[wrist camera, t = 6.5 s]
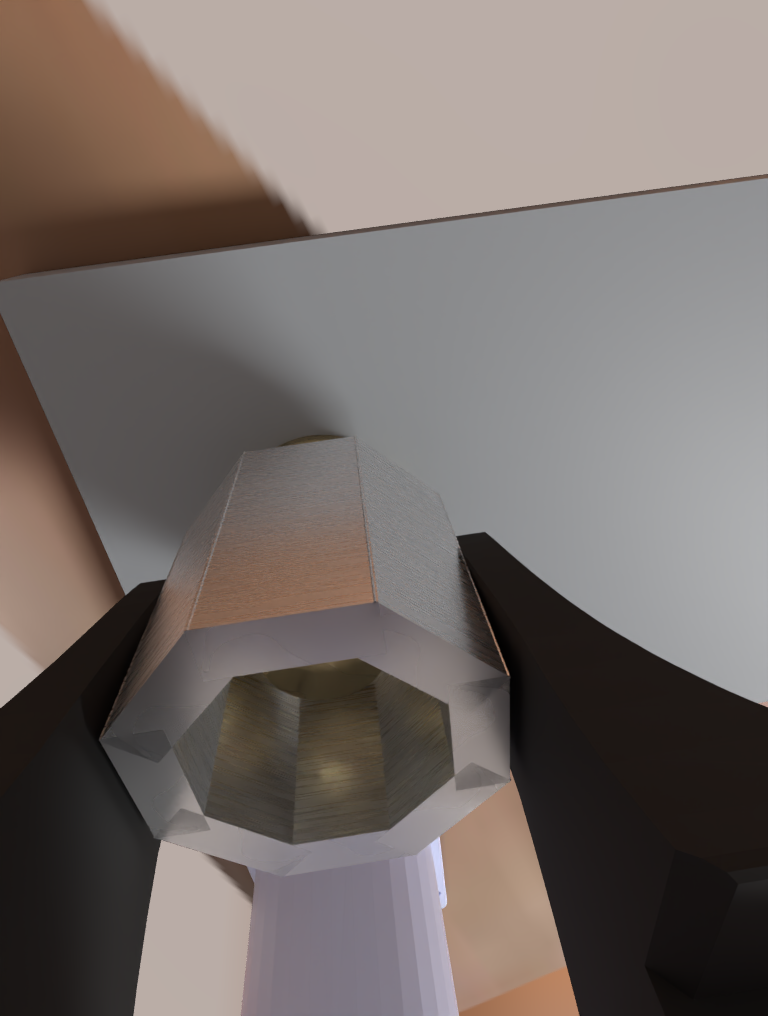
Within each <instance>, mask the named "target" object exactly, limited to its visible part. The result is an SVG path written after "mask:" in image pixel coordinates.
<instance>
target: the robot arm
mask: <svg viewBox="0 0 768 1016" xmlns="http://www.w3.org/2000/svg"><path fill="white" fill-rule="evenodd" d="M456 537H457V540H458V544H459V546H460V549H461V551H462V554H463V557H464V559H465V562H466V564H467V566H468V568H469V571H470V573H471V576H472V579H473V581H474V584H475V586H476V589H477V592H478V594H479V597H480V599H481V602H482V604H483V607H484V610H485V612H486V615H487V617H488V620H489V622H490V625H491V628H492V630H493V633H494V635H495V638H496V640H497V643H498V646H499V648H500V651H501V653H502V656H503V658H504V661H505V664H506V666H507V669H508V671H509V674H510V677H511V678H510V769H511V771H512V774H513V777H514V780H515V783H516V786H517V789H518V792H519V795H520V798H521V801H522V805H523V808H524V812H525V815H526V819H527V822H528V826H529V829H530V833H531V836H532V840H533V843H534V847H535V850H536V854H537V858H538V861H539V865H540V868H541V872H542V876H543V879H544V883H545V887H546V890H547V894H548V898H549V901H550V905H551V908H552V912H553V916H554V919H555V923H556V927H557V931H558V935H559V938H560V942H561V946H562V950H563V954H564V957H565V961H566V965H567V969H568V973H569V976H570V980H571V984H572V987H573V991H574V995H575V999H576V1003H577V1007H578V1011H579V1015H580V1016H768V707H765V706H763V705H760V704H758V703H755V702H753V701H751V700H748V699H746V698H744V697H742V696H739V695H737V694H735V693H732V692H730V691H728V690H726V689H723V688H721V687H719V686H717V685H715V684H713V683H711V682H709V681H707V680H704V679H702V678H700V677H698V676H696V675H694V674H692V673H690V672H688V671H686V670H684V669H682V668H680V667H678V666H676V665H674V664H672V663H670V662H668V661H666V660H664V659H662V658H660V657H659V656H657V655H655V654H653V653H651V652H649V651H648V650H646V649H644V648H642V647H641V646H639V645H637V644H636V643H634V642H632V641H630V640H629V639H627V638H625V637H623V636H622V635H620V634H618V633H617V632H615V631H613V630H612V629H610V628H609V627H607V626H605V625H604V624H602V623H601V622H599V621H598V620H596V619H595V618H593V617H592V616H590V615H589V614H587V613H586V612H584V611H583V610H581V609H580V608H579V607H577V606H576V605H574V604H573V603H571V602H570V601H569V600H567V599H566V598H565V597H563V596H562V595H561V594H559V593H558V592H557V591H555V590H554V589H553V588H552V587H550V586H549V585H548V584H547V583H545V582H544V581H543V580H541V579H540V578H539V577H538V576H536V575H535V574H534V573H533V572H531V571H530V570H529V569H528V568H527V567H525V566H524V565H523V564H522V563H521V562H520V561H518V560H517V559H516V558H515V557H514V556H513V555H511V554H510V553H509V552H508V551H507V550H506V549H505V548H503V547H502V546H501V545H500V544H499V543H498V542H497V541H496V540H494V539H493V538H492V537H491V536H490V535H488V534H487V533H486V532H480V533H473V534H467V535H460V536H456ZM165 581H166V579H164V580H158V581H151V582H144V583H140V584H138V585H137V586H136V587H135V588H134V589H132V590H131V591H130V592H129V593H128V594H127V595H125V596H124V597H123V598H122V599H121V600H120V601H119V602H118V603H117V604H116V605H115V606H113V607H112V608H111V609H110V610H109V611H108V612H107V613H106V614H105V615H104V616H103V617H102V618H101V619H100V620H99V621H98V622H96V623H95V624H94V625H93V626H92V627H91V628H90V629H89V630H88V631H87V632H86V633H85V634H84V635H83V636H82V637H80V638H79V639H78V640H77V641H76V642H75V643H74V644H73V645H72V646H71V647H70V648H69V649H68V650H67V651H65V652H64V653H63V654H62V655H61V656H60V657H59V658H58V659H57V660H56V661H55V662H54V663H52V664H51V665H50V666H49V667H48V668H47V669H45V670H44V671H43V672H42V673H41V674H40V675H39V676H38V677H36V678H35V679H34V680H33V681H32V682H31V683H29V684H28V685H27V686H26V687H25V688H24V689H22V690H21V691H20V692H19V693H18V694H17V695H16V696H14V697H13V698H12V699H11V700H10V701H9V702H8V703H6V704H5V705H4V706H3V707H2V708H0V1016H133V1013H134V1006H135V998H136V989H137V982H138V975H139V969H140V962H141V955H142V948H143V942H144V935H145V928H146V921H147V915H148V909H149V903H150V897H151V891H152V886H153V880H154V874H155V868H156V862H157V856H158V851H159V847H160V843H161V840H160V839H155V838H154V835H153V833H152V832H151V830H150V828H149V826H148V825H147V823H146V821H145V819H144V818H143V816H142V814H141V812H140V811H139V809H138V807H137V805H136V804H135V802H134V800H133V798H132V797H131V795H130V793H129V791H128V790H127V788H126V786H125V784H124V783H123V781H122V779H121V777H120V776H119V774H118V772H117V770H116V769H115V767H114V765H113V763H112V762H111V760H110V758H109V756H108V755H107V753H106V751H105V749H104V748H103V746H102V744H101V742H99V738H100V736H101V733H102V731H103V729H104V726H105V724H106V721H107V719H108V717H109V714H110V712H111V710H112V707H113V705H114V702H115V700H116V698H117V695H118V693H119V690H120V688H121V686H122V683H123V681H124V679H125V676H126V674H127V671H128V669H129V667H130V664H131V662H132V659H133V657H134V655H135V652H136V650H137V648H138V645H139V643H140V640H141V638H142V636H143V633H144V631H145V628H146V626H147V624H148V621H149V619H150V617H151V614H152V612H153V609H154V607H155V605H156V602H157V600H158V597H159V595H160V593H161V590H162V588H163V586H164V583H165ZM247 868H248V870H249V873H250V875H251V877H252V879H253V882H254V894H253V903H252V913H251V923H250V932H249V942H248V952H247V961H246V971H245V981H244V991H243V1000H242V1010H241V1016H459V1013H458V1007H457V1001H456V995H455V989H454V982H453V976H452V970H451V964H450V958H449V952H448V946H447V940H446V934H445V928H444V921H443V915H442V908H444V907H445V906H446V905H447V897H446V889H445V880H444V871H443V862H442V854H441V845H440V837H438V838H437V839H436V840H434V841H433V842H432V843H431V844H429V845H428V846H427V847H426V848H424V849H423V850H422V851H420V852H419V853H418V854H417V855H413V856H406V857H400V858H394V859H388V860H382V861H376V862H370V863H363V864H357V865H351V866H345V867H339V868H333V869H326V870H320V871H314V872H308V873H302V874H296V875H290V876H284V877H280V876H278V875H274V874H271V873H268V872H265V871H261V870H258V869H255V868H252V867H248V866H247Z"/></svg>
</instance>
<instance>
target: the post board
mask: <svg viewBox="0 0 768 1016" xmlns="http://www.w3.org/2000/svg"><path fill="white" fill-rule="evenodd" d="M0 313H1V316H2V318H3V320H4V322H5V325H6V327H7V329H8V331H9V334H10V336H11V338H12V340H13V343H14V345H15V347H16V349H17V352H18V354H19V356H20V358H21V361H22V363H23V365H24V367H25V370H26V372H27V374H28V376H29V379H30V381H31V383H32V385H33V388H34V390H35V392H36V394H37V397H38V399H39V401H40V403H41V406H42V408H43V410H44V412H45V415H46V417H47V419H48V421H49V424H50V426H51V428H52V431H53V433H54V435H55V437H56V440H57V442H58V444H59V446H60V449H61V451H62V453H63V455H64V458H65V460H66V462H67V464H68V467H69V469H70V471H71V473H72V476H73V478H74V480H75V482H76V485H77V487H78V489H79V491H80V494H81V496H82V498H83V500H84V503H85V505H86V507H87V509H88V512H89V514H90V516H91V518H92V521H93V523H94V525H95V527H96V530H97V532H98V534H99V536H100V539H101V541H102V543H103V545H104V548H105V550H106V552H107V554H108V557H109V559H110V561H111V563H112V566H113V568H114V570H115V572H116V575H117V577H118V579H119V581H120V584H121V586H122V588H123V590H124V593H125V595H127V594H128V593H129V592H130V591H131V590H132V589H134V588H135V587H136V586H137V585H138V584H140V583H144V582H151V581H158V580H164V579H166V578H167V576H168V574H169V571H170V569H171V566H172V564H173V562H174V559H175V557H176V555H177V552H178V550H179V547H180V545H181V543H182V540H183V538H184V536H185V533H186V531H187V530H188V529H189V528H190V526H191V525H192V523H193V522H194V521H195V519H196V518H197V516H198V515H199V514H200V512H201V511H202V509H203V508H204V507H205V505H206V504H207V502H208V501H209V500H210V498H211V497H212V495H213V494H214V493H215V491H216V490H217V488H218V487H219V486H220V484H221V483H222V481H223V480H224V479H225V477H226V476H227V474H228V473H229V472H230V470H231V469H232V467H233V466H234V465H235V463H236V462H237V460H238V459H239V458H240V456H241V455H242V452H244V451H245V452H247V451H254V450H261V449H268V448H275V447H282V446H289V445H296V444H303V443H310V442H317V441H324V440H331V439H338V438H345V437H352V436H354V435H355V436H357V437H358V438H359V439H361V440H362V441H363V442H365V443H366V444H368V445H369V446H371V447H372V448H373V449H375V450H376V451H378V452H379V453H381V454H382V455H384V456H385V457H386V458H388V459H389V460H391V461H392V462H394V463H395V464H397V465H398V466H399V467H401V468H402V469H404V470H405V471H407V472H408V473H410V474H411V475H412V476H414V477H415V478H417V479H418V480H420V481H421V482H423V483H424V484H425V485H427V486H428V487H430V488H431V489H433V490H434V491H436V492H437V493H439V494H440V496H441V499H442V501H443V504H444V507H445V509H446V512H447V514H448V517H449V519H450V522H451V525H452V527H453V530H454V532H455V535H456V536H460V535H467V534H473V533H480V532H486V533H487V534H488V535H490V536H491V537H492V538H493V539H494V540H496V541H497V542H498V543H499V544H500V545H501V546H502V547H503V548H505V549H506V550H507V551H508V552H509V553H510V554H511V555H513V556H514V557H515V558H516V559H517V560H518V561H520V562H521V563H522V564H523V565H524V566H525V567H527V568H528V569H529V570H530V571H531V572H533V573H534V574H535V575H536V576H538V577H539V578H540V579H541V580H543V581H544V582H545V583H547V584H548V585H549V586H550V587H552V588H553V589H554V590H555V591H557V592H558V593H559V594H561V595H562V596H563V597H565V598H566V599H567V600H569V601H570V602H571V603H573V604H574V605H576V606H577V607H579V608H580V609H581V610H583V611H584V612H586V613H587V614H589V615H590V616H592V617H593V618H595V619H596V620H598V621H599V622H601V623H602V624H604V625H605V626H607V627H609V628H610V629H612V630H613V631H615V632H617V633H618V634H620V635H622V636H623V637H625V638H627V639H629V640H630V641H632V642H634V643H636V644H637V645H639V646H641V647H642V648H644V649H646V650H648V651H649V652H651V653H653V654H655V655H657V656H659V657H660V658H662V659H664V660H666V661H668V662H670V663H672V664H674V665H676V666H678V667H680V668H682V669H684V670H686V671H688V672H690V673H692V674H694V675H696V676H698V677H700V678H702V679H704V680H707V681H709V682H711V683H713V684H715V685H717V686H719V687H721V688H723V689H726V690H728V691H730V692H732V693H735V694H737V695H739V696H742V697H744V698H746V699H748V700H751V701H753V702H755V703H761V702H767V701H768V174H765V175H757V176H751V177H743V178H735V179H728V180H720V181H713V182H705V183H699V184H691V185H684V186H676V187H669V188H661V189H653V190H646V191H639V192H631V193H624V194H617V195H609V196H602V197H594V198H587V199H579V200H572V201H565V202H557V203H550V204H542V205H535V206H527V207H520V208H512V209H505V210H498V211H490V212H483V213H476V214H468V215H461V216H453V217H446V218H438V219H431V220H424V221H416V222H409V223H401V224H394V225H387V226H379V227H372V228H364V229H357V230H349V231H342V232H334V233H327V234H320V235H312V236H305V237H297V238H290V239H282V240H275V241H268V242H260V243H253V244H245V245H238V246H230V247H223V248H216V249H208V250H201V251H193V252H186V253H179V254H171V255H164V256H156V257H149V258H141V259H134V260H127V261H119V262H112V263H104V264H97V265H89V266H82V267H75V268H67V269H60V270H52V271H45V272H38V273H30V274H23V275H19V276H15V277H11V278H7V279H3V280H0ZM381 671H382V670H380V669H378V668H376V667H374V666H372V665H370V664H368V663H366V662H364V661H362V660H360V659H359V658H353V659H346V660H340V661H333V662H327V663H320V664H314V665H307V666H301V667H294V668H288V669H281V670H275V671H268V672H262V673H263V674H264V676H265V677H266V678H267V680H268V681H269V682H270V683H271V684H273V685H274V686H275V687H276V688H278V689H279V690H281V691H283V692H285V693H287V694H289V695H292V696H295V697H298V698H302V699H308V700H331V699H337V698H342V697H345V696H349V695H351V694H353V693H356V692H358V691H360V690H361V689H363V688H365V687H366V686H368V685H369V684H370V683H371V682H372V681H374V680H375V678H376V677H377V676H378V675H379V674H380V672H381Z"/></svg>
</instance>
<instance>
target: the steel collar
mask: <svg viewBox="0 0 768 1016" xmlns="http://www.w3.org/2000/svg"><path fill="white" fill-rule="evenodd" d="M353 658H359V659H360V660H362V661H364V662H366V663H368V664H370V665H372V666H374V667H376V668H378V669H380V670H382V671H381V672H380V674H379V675H378V676H377V677H376V678H375V680H374V681H372V682H371V683H370V684H369V685H368V686H366V687H365V688H363V689H361V690H360V691H358V692H356V693H353V694H351V695H349V696H345V697H342V698H337V699H331V700H308V699H302V698H298V697H295V696H292V695H289V694H287V693H285V692H283V691H281V690H279V689H278V688H276V687H275V686H274V685H273V684H271V683H270V682H269V681H268V680H267V678H266V677H265V676H264V674H263V673H262V672H268V671H275V670H281V669H288V668H294V667H301V666H307V665H314V664H320V663H327V662H333V661H340V660H346V659H353ZM510 678H511V677H510V674H509V671H508V669H507V666H506V664H505V661H504V658H503V656H502V653H501V651H500V648H499V646H498V643H497V640H496V638H495V635H494V633H493V630H492V628H491V625H490V622H489V620H488V617H487V615H486V612H485V610H484V607H483V604H482V602H481V599H480V597H479V594H478V592H477V589H476V586H475V584H474V581H473V579H472V576H471V573H470V571H469V568H468V566H467V564H466V562H465V559H464V557H463V554H462V551H461V549H460V546H459V544H458V540H457V537H456V535H455V532H454V530H453V527H452V525H451V522H450V519H449V517H448V514H447V512H446V509H445V507H444V504H443V501H442V499H441V496H440V494H439V493H437V492H436V491H434V490H433V489H431V488H430V487H428V486H427V485H425V484H424V483H423V482H421V481H420V480H418V479H417V478H415V477H414V476H412V475H411V474H410V473H408V472H407V471H405V470H404V469H402V468H401V467H399V466H398V465H397V464H395V463H394V462H392V461H391V460H389V459H388V458H386V457H385V456H384V455H382V454H381V453H379V452H378V451H376V450H375V449H373V448H372V447H371V446H369V445H368V444H366V443H365V442H363V441H362V440H361V439H359V438H358V437H357V436H355V435H354V436H352V437H345V438H338V439H331V440H324V441H317V442H310V443H303V444H296V445H289V446H282V447H275V448H268V449H261V450H254V451H247V452H245V451H244V452H242V455H241V456H240V458H239V459H238V460H237V462H236V463H235V465H234V466H233V467H232V469H231V470H230V472H229V473H228V474H227V476H226V477H225V479H224V480H223V481H222V483H221V484H220V486H219V487H218V488H217V490H216V491H215V493H214V494H213V495H212V497H211V498H210V500H209V501H208V502H207V504H206V505H205V507H204V508H203V509H202V511H201V512H200V514H199V515H198V516H197V518H196V519H195V521H194V522H193V523H192V525H191V526H190V528H189V529H188V530H187V531H186V533H185V536H184V538H183V540H182V543H181V545H180V547H179V550H178V552H177V555H176V557H175V559H174V562H173V564H172V566H171V569H170V571H169V574H168V576H167V578H166V581H165V583H164V586H163V588H162V590H161V593H160V595H159V597H158V600H157V602H156V605H155V607H154V609H153V612H152V614H151V617H150V619H149V621H148V624H147V626H146V628H145V631H144V633H143V636H142V638H141V640H140V643H139V645H138V648H137V650H136V652H135V655H134V657H133V659H132V662H131V664H130V667H129V669H128V671H127V674H126V676H125V679H124V681H123V683H122V686H121V688H120V690H119V693H118V695H117V698H116V700H115V702H114V705H113V707H112V710H111V712H110V714H109V717H108V719H107V721H106V724H105V726H104V729H103V731H102V733H101V736H100V738H99V742H101V744H102V746H103V748H104V749H105V751H106V753H107V755H108V756H109V758H110V760H111V762H112V763H113V765H114V767H115V769H116V770H117V772H118V774H119V776H120V777H121V779H122V781H123V783H124V784H125V786H126V788H127V790H128V791H129V793H130V795H131V797H132V798H133V800H134V802H135V804H136V805H137V807H138V809H139V811H140V812H141V814H142V816H143V818H144V819H145V821H146V823H147V825H148V826H149V828H150V830H151V832H152V833H153V835H154V838H155V839H160V840H163V841H166V842H170V843H173V844H176V845H180V846H183V847H186V848H189V849H193V850H196V851H200V852H202V853H206V854H209V855H212V856H216V857H219V858H222V859H225V860H229V861H232V862H235V863H238V864H242V865H245V866H248V867H252V868H255V869H258V870H261V871H265V872H268V873H271V874H274V875H278V876H280V877H284V876H290V875H296V874H302V873H308V872H314V871H320V870H326V869H333V868H339V867H345V866H351V865H357V864H363V863H370V862H376V861H382V860H388V859H394V858H400V857H406V856H413V855H417V854H418V853H419V852H420V851H422V850H423V849H424V848H426V847H427V846H428V845H429V844H431V843H432V842H433V841H434V840H436V839H437V838H438V837H440V836H441V835H442V834H443V833H445V832H446V831H447V830H448V829H450V828H451V827H452V826H454V825H455V824H456V823H457V822H459V821H460V820H461V819H462V818H464V817H465V816H466V815H468V814H469V813H470V812H471V811H473V810H474V809H475V808H476V807H478V806H479V805H480V804H482V803H483V802H484V801H485V800H487V799H488V798H489V797H490V796H492V795H493V794H494V793H496V792H497V791H498V790H499V789H501V788H502V787H503V786H504V785H506V784H507V783H508V782H510V781H511V779H510Z"/></svg>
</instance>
